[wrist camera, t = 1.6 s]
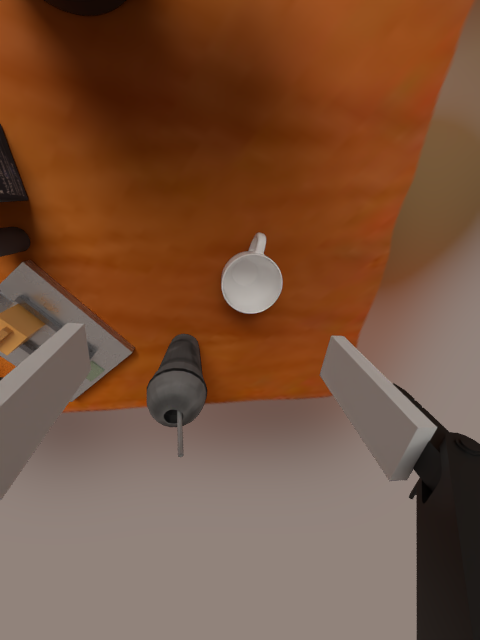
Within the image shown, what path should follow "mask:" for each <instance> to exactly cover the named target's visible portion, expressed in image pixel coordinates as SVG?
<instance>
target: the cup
mask: <svg viewBox="0 0 480 640" xmlns="http://www.w3.org/2000/svg"><path fill="white" fill-rule="evenodd" d="M265 246H266V236H265V234H263V233H256V235H255V236H254V238H253V240H252V242H251V245H250V247H249V251H244V252H241V253H238V254H236V255H234V256H233V257H232V258H231V259H230V260H229V261H228V262H227V263H226V265H225V266H224V268H223V271H222V275H221V288H222V293H223V296H224V298H225V300H226V301H227V303H228V304H229V305H230V306H231V307H232V308H234V309H235V310H237V311H239V312H242V313H247V314H254V313H259V312H262V311H264V310H266V309H268V308H269V307H271V306H272V305H273V304H274V303H275V302H276V300H277V299H278V297H279V295H280V293H281V290H282V284H283V281H282V274H281V271H280V269H279V267H278V266H277V265H276V263H275V262H274V261H273V260H271V259H270V258H269V257H267V256H266V255H265V254H264V250H265Z"/></svg>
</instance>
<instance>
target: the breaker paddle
mask: <svg viewBox="0 0 480 640" xmlns="http://www.w3.org/2000/svg"><path fill="white" fill-rule="evenodd" d="M44 325H45V323H43V322H42V321H41V320H39V319H38V318H37V317H35V316H34V315H33V314H32V313H30V312H29V311H28V310H26V309H25V308H24V307H22V306H21V305H20V304H17V305H15V306H13V307H11V308H9V309H7V310H5V311H3V312H1V313H0V351H1V352H2V353H4V354H5V355H9V354H10V353H11V352H13V351H14V350H15V349H17V348H18V347H19V346H21V345H22V344H23V343H25V342H26V341H27V340H29V339H30V338H31V337H32V336H33V335H34V334H35V333H36V332H37V331H38V330H40V329H41V328H42V327H43V326H44Z"/></svg>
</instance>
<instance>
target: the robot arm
mask: <svg viewBox="0 0 480 640" xmlns="http://www.w3.org/2000/svg"><path fill="white" fill-rule="evenodd" d="M44 1H46V2H47V3H49V4H51V5H53V6H55V7H57V8H59V9H61V10H64V11H66V12H69V13H73V14H78V15H99V14H103V13H107V12H109V11H112V10H113V9H115V8H117V7H118V6H120V5H121V4H123V3H124V2H125V1H126V0H44ZM90 371H91V365H90V358H89V351H88V345H87V338H86V331H85V324H81V323H67V324H66V325H64V326H63V327H62V328H61V329H60V330H59V331H57V332H56V333H55V334H54V335H53V336H52V337H50V338H49V339H48V340H47V341H46V342H45V343H43V344H42V345H41V346H40V347H39V348H38V349H37V350H35V351H34V352H33V353H32V354H31V355H30V356H28V357H27V358H26V359H25V360H24V361H23V362H21V363H20V364H19V365H18V366H17V367H16V368H14V369H13V370H12V371H11V372H10V373H9V374H7V375H6V376H5V377H0V500H1V499H2V498H3V496H4V495H5V494H6V492H7V490H8V489H9V488H10V486H11V485H12V484H13V482H14V481H15V479H16V478H17V476H18V475H19V473H20V472H21V471H22V469H23V468H24V466H25V465H26V463H27V462H28V460H29V459H30V458H31V456H32V455H33V453H34V452H35V450H36V449H37V447H38V446H39V445H40V443H41V442H42V440H43V439H44V437H45V436H46V434H47V433H48V432H49V430H50V429H51V427H52V426H53V424H54V423H55V421H56V420H57V419H58V417H59V416H60V414H61V413H62V411H63V410H64V408H65V407H66V406H67V404H68V403H69V401H70V400H71V398H72V397H73V395H74V394H75V393H76V391H77V390H78V388H79V387H80V385H81V384H82V382H83V381H84V380H85V378H86V377H87V375H88V374H89V372H90ZM320 376H321V378H322V379H323V381H324V382H325V384H326V385H327V387H328V388H329V390H330V391H331V393H332V394H333V396H334V397H335V399H336V400H337V402H338V404H339V405H340V407H341V408H342V410H343V411H344V413H345V414H346V416H347V417H348V419H349V420H350V422H351V423H352V425H353V426H354V427H355V429H356V431H357V432H358V434H359V435H360V437H361V438H362V440H363V442H364V443H365V444H366V446H367V447H368V449H369V451H370V452H371V454H372V455H373V457H374V458H375V459H376V461H377V463H378V464H379V466H380V467H381V469H382V470H383V472H384V473H385V475H386V476H387V478H388V480H389V481H397V480H407V479H408V478H409V476H410V474H411V472H412V471H413V469H414V470H415V471H416V473H417V474H418V475H419V477H420V478H419V480H418V482H417V483H416V485H415V487H414V488H413V490H412V491H411V493H410V496H409V498H410V499H413V497H414V496H415V495H417V640H480V444H479V443H477V442H476V441H475V440H473V439H471V438H469V437H467V436H465V435H462V434H459V433H452V432H449V431H448V430H446V428H444V426H442V425H441V424H440V423H439V422H438V421H437V420H436V419H435V418H434V417H433V416H432V415H431V414H430V413H429V412H428V411H426V410H425V409H424V408H422V406H421V405H420V404H419V403H418V402H417V401H415V400H414V398H413V397H412V396H411V395H410V394H409V393H407V392H406V391H405V390H404V389H402V388H400V387H399V386H397V385H396V384H392V383H391V382H390V381H389V380H388V379H387V378H386V377H385V376H384V375H383V374H382V373H381V372H380V371H379V370H378V369H377V368H376V367H375V366H373V364H371V362H369V360H367V359H366V358H365V357H364V356H363V355H362V354H361V353H360V352H359V351H358V350H357V349H356V348H355V347H354V346H353V345H352V344H351V343H350V342H349V341H348V340H347V339H346V338H345V337H344V336H331V338H330V342H329V345H328V349H327V352H326V355H325V359H324V362H323V366H322V369H321V372H320Z"/></svg>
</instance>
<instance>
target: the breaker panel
mask: <svg viewBox="0 0 480 640" xmlns="http://www.w3.org/2000/svg"><path fill="white" fill-rule="evenodd" d="M17 304H20V305H21V306H22V307H24V308H25V309H26V310H28V311H29V312H30V313H32V314H33V315H34V316H35V317H37V318H38V319H39V320H41V321H42V322H43V323H45V325H44V326H43V327H42V328H41V329H40V330H38V331H37V332H36V333H35V334H34V335H33V336H32V337H31V338H30V339H29V340H27V341H26V342H25V343H23V344H22V345H21V346H19V347H18V348H17V349H15V350H14V351H13V352H11V353H10V354H9V355H5V354H4V353H2V352H1V351H0V356H1V357H3V358H5V359H6V360H8V361H9V362H11V363H12V364H14V365H15V366H18V365H19V364H20V363H21V362H23V361H24V360H25V359H26V358H27V357H28V356H30V355H31V354H32V353H33V352H34V351H35V350H37V349H38V348H39V347H40V346H41V345H42V344H43V343H45V342H46V341H47V340H48V339H49V338H50V337H52V336H53V335H54V334H55V333H56V332H57V331H59V330H60V329H61V328H62V327H63V326H64V325H66V324H67V323H81V324H85V331H86V338H87V345H88V351H89V358H90V365H91V371H90V372H89V374H88V375H87V377H86V378H85V380H84V381H83V382H82V384H81V385H80V387H79V388H78V390H77V391H76V393H75V394H74V395H73V397H72V398H71V400H70V401H71V402H72V401H73V400H75V399H76V398H77V397H78V396H80V395H81V394H82V393H83V392H84V391H86V390H87V389H88V388H89V387H91V386H92V385H93V384H94V383H96V382H97V381H98V380H99V379H100V378H102V377H103V376H104V375H105V374H107V373H108V372H109V371H110V370H112V369H113V368H114V367H115V366H117V365H118V364H119V363H120V362H121V361H123V360H124V359H125V358H126V357H128V356H129V355H130V354H131V353H133V351H134V349H135V347H134V346H132V345H131V344H130V343H129V342H128V341H126V340H125V339H124V338H123V337H122V336H120V335H119V334H118V333H117V332H116V331H114V330H113V329H112V328H111V327H110V326H109V325H107V324H106V323H105V322H104V321H103V320H101V319H100V318H99V317H98V316H97V315H95V314H94V313H93V312H92V311H91V310H89V309H88V308H87V307H86V306H85V305H84V304H82V303H81V302H80V301H79V300H78V299H76V298H75V297H74V296H73V295H72V294H70V293H69V292H68V291H67V290H66V289H64V288H63V287H62V286H61V285H60V284H59V283H57V282H56V281H55V280H54V279H53V278H51V277H50V276H49V275H48V274H47V273H45V272H44V271H43V270H42V269H41V268H39V267H38V266H37V265H36V264H35V263H34V262H32V261H31V260H27V261H24V262H22V263H21V264H20V265H19V266H18V267H17V268H16V269H15V270H14V271H13V272H12V273H11V274H10V275H9V276H8V277H7V278H6V279H5V280H4V281H3V282H2V283H1V284H0V313H1V312H3V311H5V310H7V309H9V308H11V307H13V306H15V305H17Z"/></svg>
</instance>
